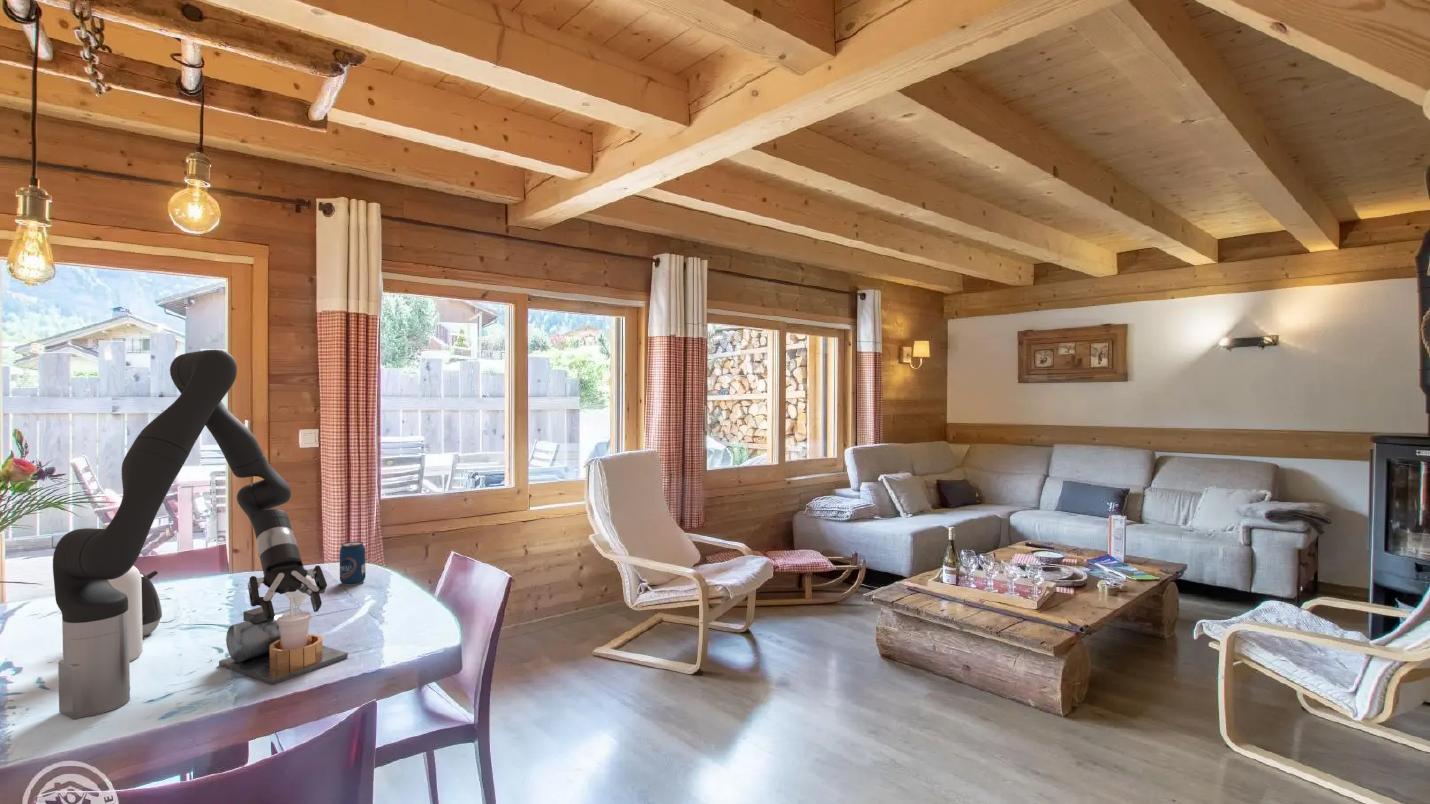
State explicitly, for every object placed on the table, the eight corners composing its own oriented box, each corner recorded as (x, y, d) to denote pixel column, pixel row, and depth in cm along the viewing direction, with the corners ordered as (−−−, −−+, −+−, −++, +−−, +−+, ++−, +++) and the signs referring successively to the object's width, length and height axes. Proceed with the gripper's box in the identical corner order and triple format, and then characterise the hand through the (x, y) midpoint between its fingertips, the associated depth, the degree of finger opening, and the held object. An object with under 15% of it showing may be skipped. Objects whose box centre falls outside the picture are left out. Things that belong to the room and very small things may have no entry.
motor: (272, 684, 139) (272, 631, 139) (218, 665, 149) (218, 615, 149) (349, 656, 154) (349, 608, 154) (296, 640, 163) (295, 595, 163)
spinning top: (274, 613, 183) (273, 567, 183) (298, 604, 190) (297, 560, 190) (298, 615, 181) (298, 569, 181) (321, 606, 189) (321, 562, 188)
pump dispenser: (173, 630, 170) (172, 568, 170) (127, 645, 160) (126, 580, 160) (142, 626, 173) (141, 565, 173) (95, 641, 163) (94, 576, 163)
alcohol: (100, 670, 146) (97, 528, 145) (82, 662, 150) (79, 524, 150) (150, 656, 154) (148, 521, 153) (131, 649, 158) (129, 517, 157)
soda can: (335, 585, 208) (334, 546, 208) (348, 579, 215) (347, 540, 215) (357, 586, 208) (357, 546, 207) (370, 579, 215) (369, 541, 214)
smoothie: (270, 663, 148) (269, 597, 147) (300, 653, 153) (299, 590, 153) (288, 669, 145) (287, 602, 144) (318, 658, 150) (317, 594, 150)
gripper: (244, 547, 150) (259, 612, 142) (317, 537, 160) (335, 597, 152) (238, 567, 153) (253, 632, 146) (310, 556, 164) (327, 615, 156)
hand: (295, 614), depth 149 cm, fingers open, 8 cm apart
